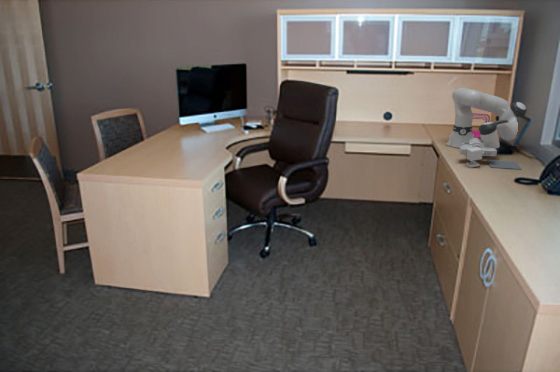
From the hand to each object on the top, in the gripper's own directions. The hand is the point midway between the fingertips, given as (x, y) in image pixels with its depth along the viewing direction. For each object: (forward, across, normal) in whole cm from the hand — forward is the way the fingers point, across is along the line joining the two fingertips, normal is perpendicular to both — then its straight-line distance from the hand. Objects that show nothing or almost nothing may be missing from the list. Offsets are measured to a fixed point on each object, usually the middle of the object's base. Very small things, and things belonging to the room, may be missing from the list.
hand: (479, 154), depth 260 cm
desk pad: (-7, -15, -7) cm, 18 cm away
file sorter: (-89, -6, -8) cm, 90 cm away
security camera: (0, +2, -7) cm, 7 cm away
